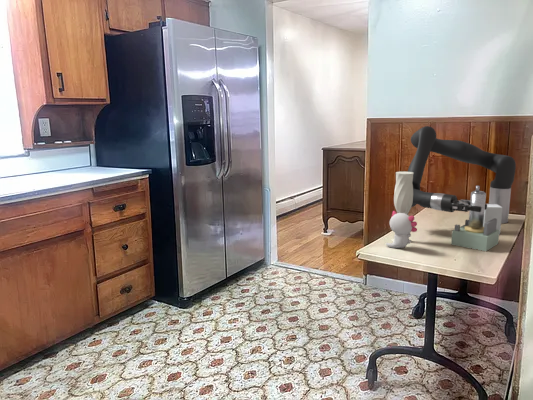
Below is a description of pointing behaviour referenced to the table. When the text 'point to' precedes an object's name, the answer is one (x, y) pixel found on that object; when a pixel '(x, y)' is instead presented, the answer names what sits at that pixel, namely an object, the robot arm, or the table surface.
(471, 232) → the green and yellow block
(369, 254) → the table surface
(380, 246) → the table surface
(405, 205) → the vase
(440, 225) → the table surface
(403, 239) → the toy
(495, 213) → the supplement box
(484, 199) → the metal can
